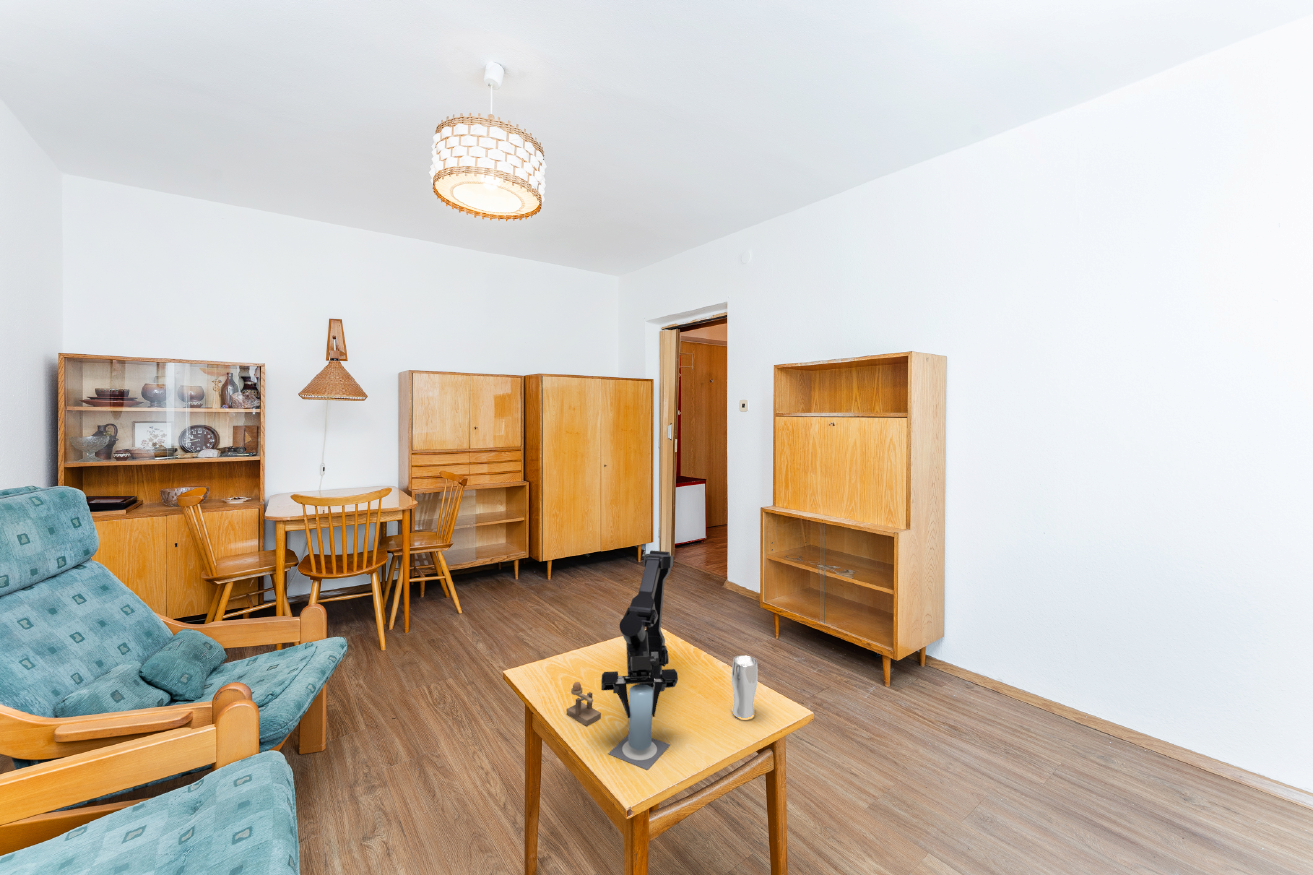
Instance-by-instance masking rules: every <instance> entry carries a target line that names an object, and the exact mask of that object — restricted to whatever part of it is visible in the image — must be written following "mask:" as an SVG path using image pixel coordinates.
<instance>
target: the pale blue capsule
mask: <svg viewBox="0 0 1313 875" xmlns="http://www.w3.org/2000/svg"><path fill="white" fill-rule="evenodd" d="M628 702H629V709H630V718H628V734H629V737H628V744H629V746H630V747H632V748H633V749H637V750H643V749H647V748H648V747H650V746H651V743H652V738H653V737H652V736H653V735H652V734H653V716H652V704H653V687H650V686H648V685H645V684H633V685H632V686H631V687H630V688H629V697H628Z"/></svg>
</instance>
